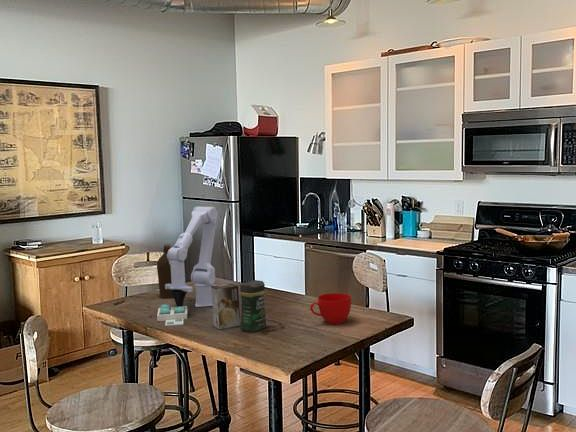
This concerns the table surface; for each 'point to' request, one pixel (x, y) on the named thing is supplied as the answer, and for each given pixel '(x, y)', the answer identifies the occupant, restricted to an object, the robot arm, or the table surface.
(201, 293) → the robot arm
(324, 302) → the ceramic cup
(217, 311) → the coffee box
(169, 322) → the card
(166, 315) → the button board
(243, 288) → the coffee jar
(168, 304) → the button
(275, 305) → the table surface
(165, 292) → the olive oil
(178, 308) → the button
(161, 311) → the button
